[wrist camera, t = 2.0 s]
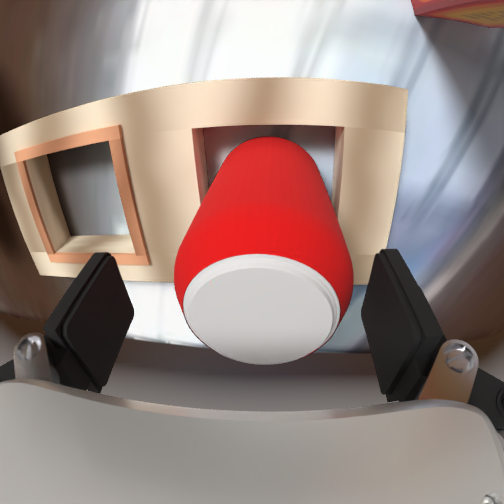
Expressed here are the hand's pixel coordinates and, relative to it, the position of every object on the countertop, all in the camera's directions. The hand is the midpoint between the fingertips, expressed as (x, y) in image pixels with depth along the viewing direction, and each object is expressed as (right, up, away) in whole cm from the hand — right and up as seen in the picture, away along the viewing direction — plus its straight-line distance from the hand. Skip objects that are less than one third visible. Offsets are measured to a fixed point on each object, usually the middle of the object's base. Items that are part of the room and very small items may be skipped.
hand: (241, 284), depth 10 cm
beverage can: (+2, +6, +8) cm, 10 cm away
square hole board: (-5, +6, +9) cm, 12 cm away
